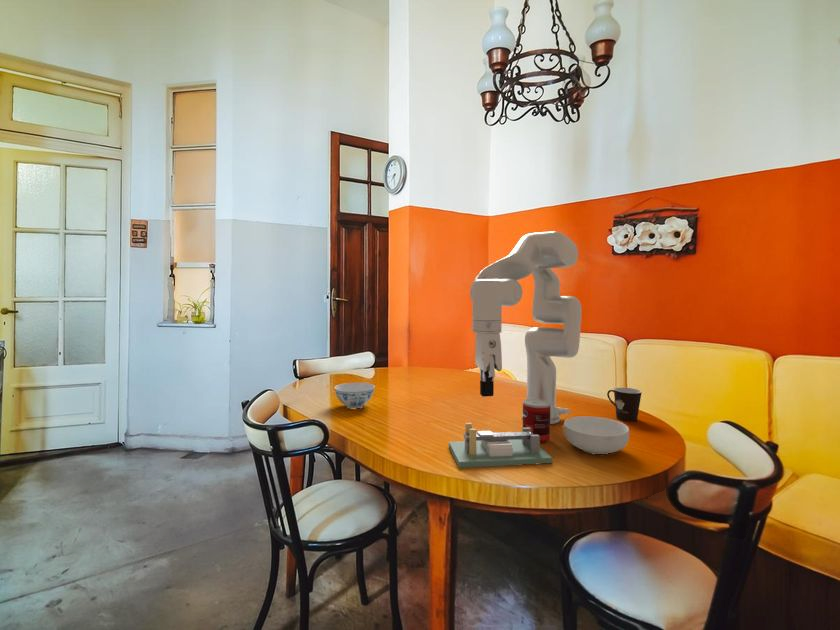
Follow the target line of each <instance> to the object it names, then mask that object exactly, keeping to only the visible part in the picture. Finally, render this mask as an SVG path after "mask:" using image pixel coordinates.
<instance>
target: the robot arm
mask: <svg viewBox="0 0 840 630" xmlns="http://www.w3.org/2000/svg"><path fill="white" fill-rule="evenodd" d="M578 258H579V250H578V247H577V245H576V243H575V242H574V241H573V240H572V239H571V238H569V237H568V236H567V235H566V234H564V233H562V232H560V231H559V232H558V231H542V232H531V233H527V234H525V235H523V236H522V237H521V238H520V239H519V240H518V242H517V243H516V245H515V246H514V248H513V249H512V250H511V251H510V253H509V254H508V255H507V256H505V257H503V258H501V259H498V260H497V261H495V262H493V263H491V264H489V265H487V266H486V267H484V268H483V269H482V270H481V271H480V272H479V273H478V274H477V275H476V277H475V278H474V280H473V282H471V284H470V285H471V286H470V289H469V296H470V299H471V301H472V302H471V303H472V306H471V307H472V308H471V309H472V316H471V317H472V323H471V324H472V327H471V328H472V331H471V332H472V333H473V334H475V337H474V338H475V339H474V340H475V341H474V342H475V343H474V363H475V366H476V367H478V368H479V378H480V381H479V385H480V386H479V395H481V397H494V392H495V391H494V389H495V388H494V383H495V382H494V381H495V380H494V379H495V377H496V373H495V370H496V371H498V372H501V371H502V370H503V359H502V357H503V356H502V340H501V333H502V309H503V307H513V306H515V305H517V304H519V302H520V301H521V300H522V297H523V293H524V292H523V291H524V290H523V288H522V287H523V286H522V285H521V283H520V282H519V280H521V279H523V280H524V279H525V278H527V277H529V276H530V275H532V277H533V283H534V285H533V286H534V288H533V299H532V307H531V308H532V311H531V312H532V314H531V315H532V319H533V320H534V321H535V322H537V323H539V324H548V325H549V324H550V325H562V326H563V327H564V328H562V327H560V328H558V327H545V326H537V327H532V328H529V329H528V330H527V331H526V332H525V335H524V346H525V353H526V362H527V366H526V368H527V369H526V371H527V372H526V373H527V374H526V400H527V399H540V400H545V401H548V402H549V403H550V425H554V424H558V423H560V421H561V417H560V416H561V415H569V414H570V409H569V408H568V407H567V408H563V407H559V406H556V401H557V400H556V399H557V397H556V396H557V369H556V365H555V363H554V361H553V360H552V358H551V357H556V358H574V357H575V356H577V355H578V352H579V349H580V341H581V339H580V338H581V327H582V326H581V325H582V317H583V316H582V314H583V311H582V310H583V309H582V303H581V301H580V300H579V299H578V297H576V296H572V295H560V294H561V291H560V290H561V280H560V278H559V277H558V275H557V274H556V272H555V271H553V269H554V268H555V269H561V268H571V267H573V266H575V265H576V263H577V261H578ZM521 419H522V420H523V412H522V414H521Z"/></svg>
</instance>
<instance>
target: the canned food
mask: <svg viewBox="0 0 840 630" xmlns="http://www.w3.org/2000/svg"><path fill="white" fill-rule="evenodd" d="M522 413H523V419H522V429H523V428H526V427H530V428H531V432H532V433H533V434H534V435H537V434H538V435H539V436H540V440H539V442H545V443H547V442H546V441H548V440H550V438H551V424H550V403H549V402H548V401H545V400H540V399H527V398H526V399H523V402H522ZM548 442H549V441H548Z"/></svg>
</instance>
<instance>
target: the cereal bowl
mask: <svg viewBox="0 0 840 630" xmlns="http://www.w3.org/2000/svg"><path fill="white" fill-rule="evenodd" d="M563 431H564V436H565V437H566V439H567V441H568V442H569V443H570V444H571V445H573V446H574V447H576V448H578V449H579V450H581V449H582V450H581V451H583V450H584V451H586V452H585V453H587V452H589V453H588V454H590V453H594V454H593V455H595V454H607V455H609V454H608V453H610V454H612V453H615V452H618V451H621V450H623V448H625V447H626V446H627V445H628V443H629V438H630V428H629V426H628V425H627V424H625V423H623V422H621V421H618V420H615V419H612V418H607V417H600V416H599V417H598V416H589V415H588V416H586V415H585V416H584V415H583V416H579V415H578V416H573V417H569V418H567V419H565V420H564V422H563ZM584 451H583V452H584Z"/></svg>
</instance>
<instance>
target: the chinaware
mask: <svg viewBox="0 0 840 630" xmlns="http://www.w3.org/2000/svg"><path fill="white" fill-rule="evenodd" d="M375 388H376V386H375V385H374V384H372V383H369V382H345V383H340V384H337V385H336V386H334V392H335V395H336V397H337V399H338V401H339V402H340V403H342V404H343V405H344V406H345V408H346V407H348V408H360V409H362V408H361V407H363V406H364V407H365V405H366V404H367V403H368V402H370V400H371V399H372V397H373V395H374V393H375ZM364 407H363V408H364ZM348 408H347V409H348Z"/></svg>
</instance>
